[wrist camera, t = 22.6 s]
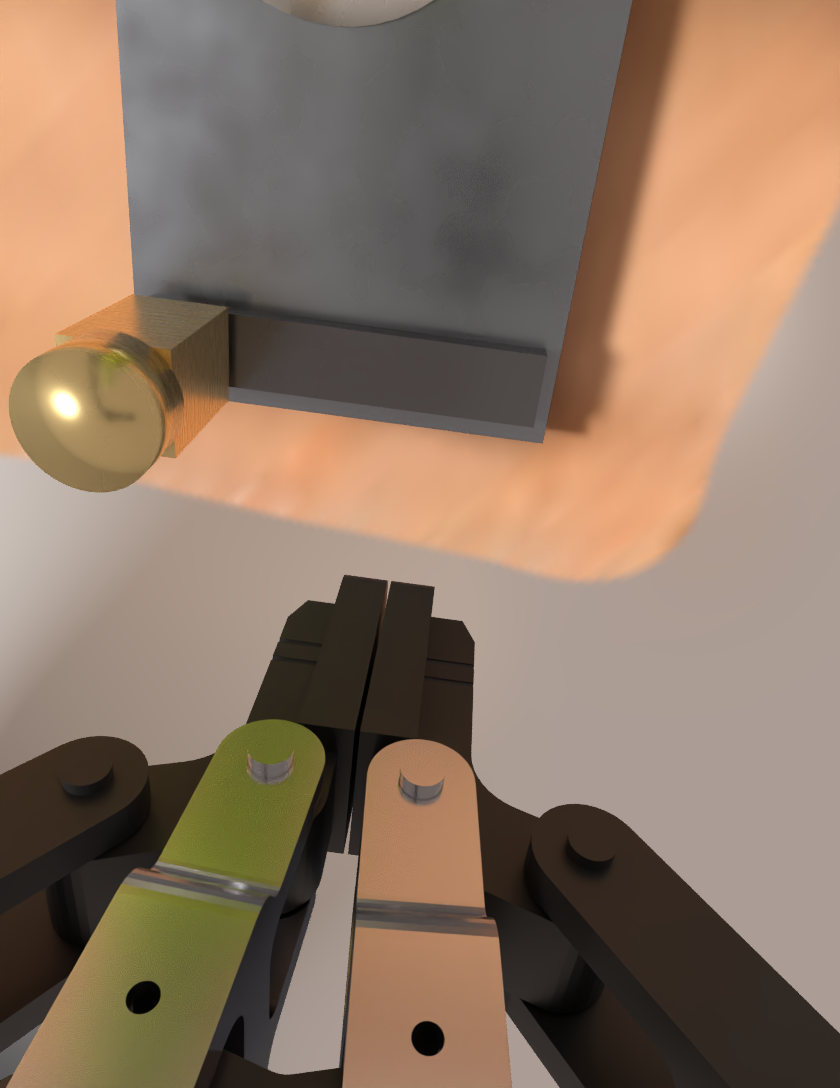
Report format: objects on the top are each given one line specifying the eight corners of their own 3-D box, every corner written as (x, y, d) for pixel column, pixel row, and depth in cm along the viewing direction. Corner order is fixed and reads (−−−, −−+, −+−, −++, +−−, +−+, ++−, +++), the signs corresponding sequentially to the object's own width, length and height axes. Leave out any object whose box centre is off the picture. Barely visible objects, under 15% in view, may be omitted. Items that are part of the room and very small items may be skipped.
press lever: (122, 283, 24) (-2, 341, 18) (237, 298, 24) (152, 361, 18) (130, 395, 26) (19, 481, 20) (238, 409, 26) (160, 501, 20)
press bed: (110, -490, 18) (64, -564, 16) (709, -418, 18) (735, -485, 16) (156, 376, 28) (130, 396, 26) (540, 428, 28) (543, 452, 26)
